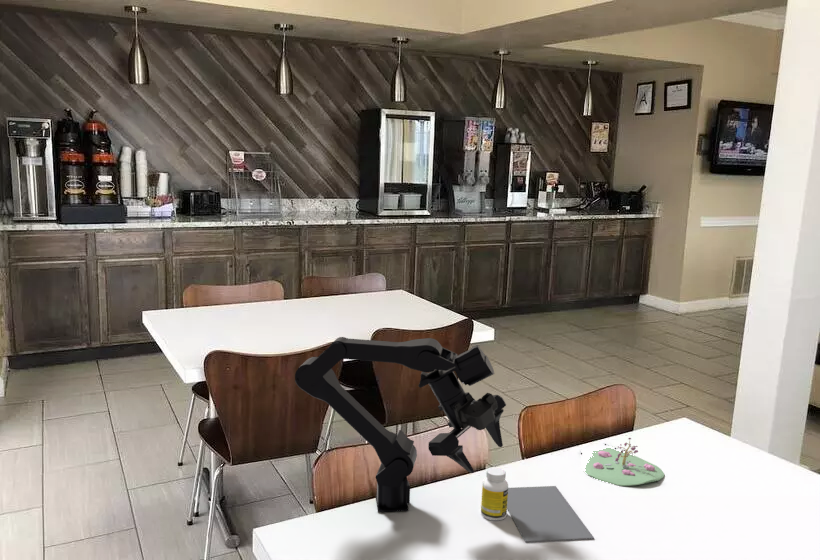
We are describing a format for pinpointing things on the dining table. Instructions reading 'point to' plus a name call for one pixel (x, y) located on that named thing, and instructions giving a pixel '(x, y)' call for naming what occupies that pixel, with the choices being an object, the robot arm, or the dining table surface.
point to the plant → (622, 467)
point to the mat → (544, 515)
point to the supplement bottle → (494, 494)
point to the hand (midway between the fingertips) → (486, 459)
